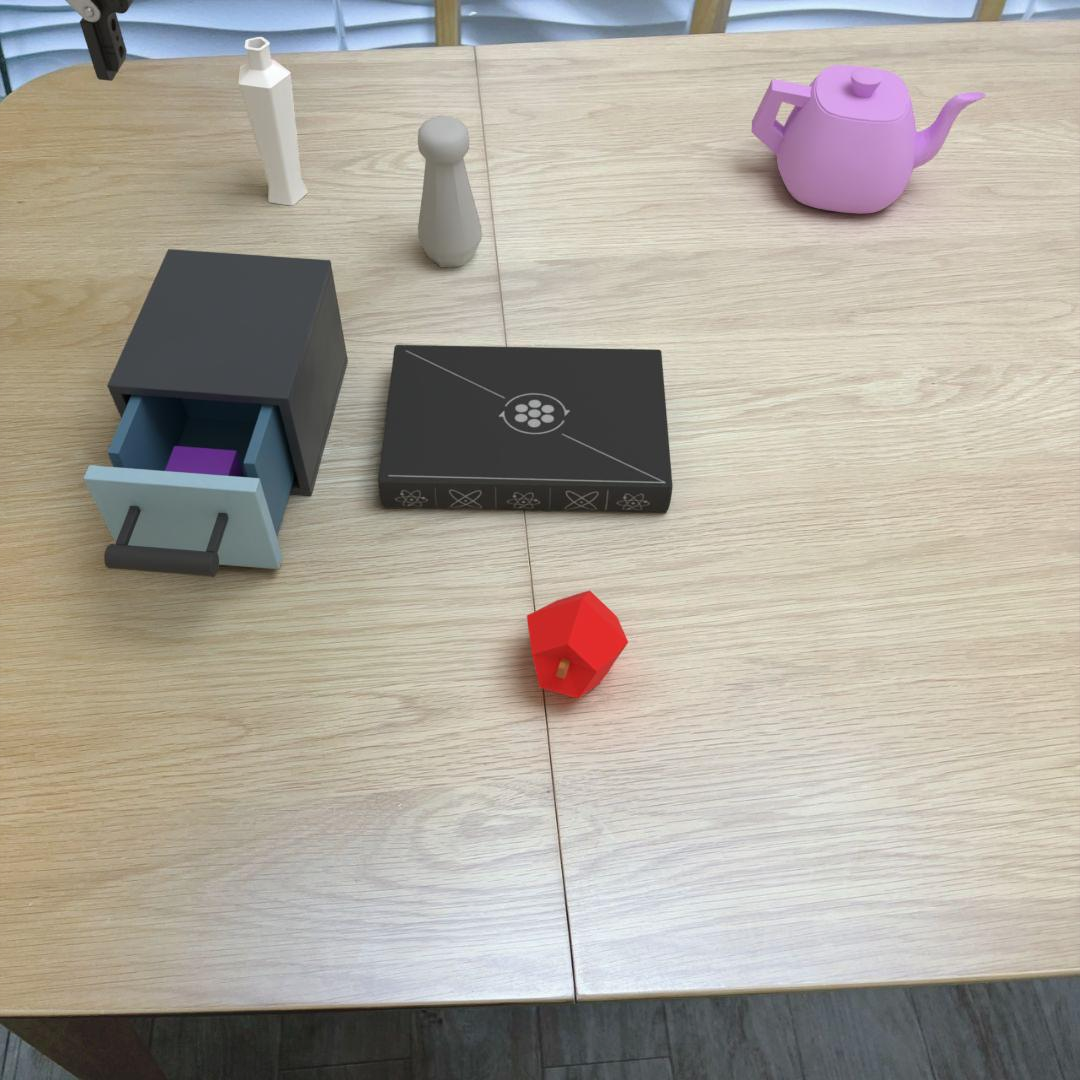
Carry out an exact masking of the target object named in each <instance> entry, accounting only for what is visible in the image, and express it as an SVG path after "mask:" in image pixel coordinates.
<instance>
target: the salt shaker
mask: <svg viewBox="0 0 1080 1080" xmlns="http://www.w3.org/2000/svg"><path fill="white" fill-rule="evenodd" d="M417 147H418V152H419V153H420V154H421V156H422V157H423V158H424V159H425V164H424V172H423V183H422V192H421V201H420V207H419V208H420V209H419V215H418V223H417V239H418V242H419V245H420V246H421V247H422V249H423V251H424V252H425V254H426V256H427V257H428V258H429V259H430V260H431V261H433V262H434V263H435V264H436V265H438V266H439V267H440V268H453V267H463V266H464V265H465V264H466V263H467V262H468V261H469V260H471V258H473V257H474V255H475V253H476V251H477V250H478V248H479V245H480V243H481V242H482V238H483V230H482V223H481V220H480V216H479V213H478V209H477V204H476V202H475V198H474V195H473V190H472V187H471V183H470V180H469V176H468V172H467V167H466V163H465V160H464V158H465V157H466V155H467V153H468V152H469V150H470V134H469V130H468V126H466V124H465V123H464V122H463V121H461V120H460V119H458V118H455V117H453V116H449V115H448V116H447V115H438V116H433V117H430V118H428V119H426V120H425V121H424V122H423V123H422V124H421V125H420V127H419V128H418V131H417Z"/></svg>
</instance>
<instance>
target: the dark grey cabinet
mask: <svg viewBox="0 0 1080 1080" xmlns="http://www.w3.org/2000/svg"><path fill="white" fill-rule="evenodd" d="M336 289H337V288H336V284H335V278H334V272H333V266H332V262H331V260H330V259H319V258H318V259H317V258H305V257H304V258H303V257H291V256H290V257H289V256H274V255H261V254H247V253H243V254H242V253H232V252H231V253H230V252H215V251H202V250H189V249H173V248H168V249H167V250H166V253H165V255H164V257H163V259H162V262H161V264H160V266H159V268H158V271H157V273H156V275H155V278H154V280H153V282H152V284H151V286H150V289H149V291H148V293H147V295H146V298H145V300H144V302H143V304H142V307H141V309H140V311H139V313H138V315H137V318H136V320H135V322H134V324H133V326H132V329H131V331H130V334H129V335H128V338H127V339H126V342H125V344H124V347H123V349H122V351H121V353H120V356H119V358H118V360H117V362H116V364H115V366H114V369H113V372H112V373H111V375H110V377H109V380H108V383H107V385H106V387H107V388H108V390H109V393H110V396H111V397H112V401H113V403H114V405H115V407H116V409H117V412H118V415H119V417H120V419H121V418H122V416H123V414H124V411H125V409H126V407H127V404H128V402H129V400H130V397H131V395H144V396H157V397H171V398H184V399H197V400H211V401H224V402H238V403H251V404H265V405H278V406H279V408H280V412H281V416H282V420H283V424H284V428H285V431H286V435H287V439H288V443H289V447H290V451H291V455H292V459H293V463H294V467H295V471H296V473H295V476H294V480H293V483H292V487H291V490H290V494H289V495H296V496H308V497H312V496H313V493H314V492H313V491H314V489H315V486H316V480H317V478H318V474H319V470H320V466H321V462H322V459H323V455H324V451H325V448H326V444H327V441H328V437H329V432H330V428H331V425H332V422H333V418H334V414H335V412H336V411H335V410H336V407H337V404H338V399H339V395H340V392H341V388H342V385H343V382H344V378H345V374H346V371H347V366H348V362H349V359H348V353H347V348H346V342H345V336H344V330H343V324H342V319H341V313H340V307H339V302H338V296H337V290H336Z"/></svg>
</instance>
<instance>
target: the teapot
mask: <svg viewBox="0 0 1080 1080" xmlns="http://www.w3.org/2000/svg"><path fill="white" fill-rule="evenodd" d="M986 96H987V94H986V93H984V92H982V91H981V92H980V91H969V92H962V93H959V94H956V95H954V96H953V97H951V98H950V99H948V100H947V101H946V102H945V104H944V105H943V106H942V108H941V110H940V111H939V113H938V115H937V117H936V119H935V120H934V121H933V123H932V124H930V126H928V127H926V128H925V129H922V130H919V131H917V127H916V118H915V112H914V108H913V103H912V99H911V95H910V92H909V89H908V86H907V84H906V83H905V82H904V80H903V79H902V77H900V76H899V75H897V74H896V73H895V72H893V71H890V70H887V69H881V68H877V67H869V66H863V65H849V64H836V65H831V66H828V67H826V68H824V69H823V70H821V71H820V72H819V74H817V76H816V77H815V78H814V79H813V80H812V82H811V83H810V84H809V85H807V84H800V83H797V82H790V81H786V80H780V79H777V78H776V79H775V78H772V79H771V81H770V82H769V85H768V87H767V88H766V90H765V93H764V95H763V97H762V99H761V101H760V103H759V105H758V107H757V109H756V112H755V113H754V116H753V118H752V120H751V133H752V134H753V135H754V136H755V137H756V138H757V139H758V140H760V142H761V143H762V144H763V145H765V146H766V147H767V148H768V149H769V150H770V151H771V152H773V153H774V154H775V155H776V163H777V168H778V172H779V174H780V177H781V179H782V182H783V184H784V186H785V187H786V189H787V191H788V193H789V194H790V195H791V197H792V198H793V199H795V200H796V201H797V202H799V203H801V204H803V205H805V206H807V207H811V208H815V209H819V210H824V211H830V212H836V213H847V214H873V213H878V212H880V211H882V210H884V209H885V208H887V207H889V206H890V205H891V204H893V203H894V202H895V201H896V200H897V199H899V197H900V196H901V195H902V194H903V192H904V191H905V190H906V188H907V187H908V185H909V184H910V181H911V178H912V175H913V171H914V170H915V169H917V168H919V167H921V166H924V165H926V164H927V163H929V162H930V161H932V160H933V159H934V158H935V157H936V156H937V155H938V153H939V152H940V151H941V149H942V147H943V146H944V143H945V142H946V140H947V137H948V136H949V133H950V131H951V128H952V126H953V124H954V123H955V121H956V119H957V117H958V116H959V115H960V113H961V112H962V111H963V110H964V109H965V108H967V107H968V106H971V105H972V104H974V103H976V102H977V101H980V100H982V99H984V98H985V97H986ZM782 103H785V104H788V105H792V106H793V108H792V109H791V111H790V113H789V115H788V117H787V118H786V121H785V123H784V125H783V124H782V123H781V122H780V121H778V119H777V117H778V115H779V114H778V113H779V111H780V108H781V105H782Z"/></svg>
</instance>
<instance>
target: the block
mask: <svg viewBox="0 0 1080 1080" xmlns="http://www.w3.org/2000/svg"><path fill="white" fill-rule="evenodd" d="M165 471H171V472H184V473H197V474H210V475H223V476H236V477H244V473H243V470H242V467H241V464H240V461H239V458H238V454H237V451H234V450H221V449H209V448H196V447H184V446H174V448H173V451H172V453H171V456H170V458H169V461H168V464H167V466H166V469H165Z"/></svg>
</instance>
